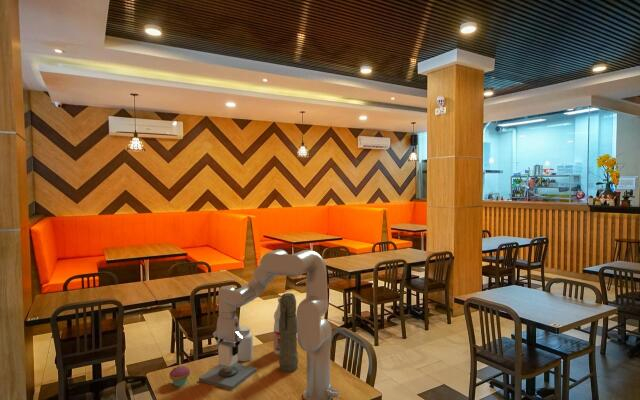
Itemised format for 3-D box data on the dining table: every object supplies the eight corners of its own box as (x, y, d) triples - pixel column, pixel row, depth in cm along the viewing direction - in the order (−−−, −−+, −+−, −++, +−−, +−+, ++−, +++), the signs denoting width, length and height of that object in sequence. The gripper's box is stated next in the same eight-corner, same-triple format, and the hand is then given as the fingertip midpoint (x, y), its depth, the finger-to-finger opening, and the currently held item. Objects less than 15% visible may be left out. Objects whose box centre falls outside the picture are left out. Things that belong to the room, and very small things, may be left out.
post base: (256, 371, 181) (256, 344, 180) (232, 390, 164) (231, 361, 164) (225, 363, 188) (224, 338, 187) (198, 381, 172) (198, 353, 171)
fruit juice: (286, 346, 208) (285, 294, 206) (295, 352, 200) (295, 299, 199) (270, 351, 202) (270, 298, 201) (280, 357, 194) (279, 302, 193)
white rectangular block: (237, 362, 177) (237, 341, 177) (229, 368, 172) (229, 346, 171) (227, 360, 180) (226, 338, 179) (218, 365, 174) (218, 343, 174)
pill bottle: (249, 362, 189) (248, 332, 189) (233, 361, 191) (233, 330, 190) (255, 355, 197) (254, 326, 197) (240, 354, 199) (239, 325, 198)
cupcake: (169, 380, 172) (169, 354, 172) (190, 377, 175) (189, 351, 175) (169, 390, 164) (169, 362, 164) (190, 386, 167) (190, 359, 167)
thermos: (275, 373, 179) (275, 297, 177) (282, 361, 190) (282, 290, 189) (294, 374, 177) (294, 298, 176) (300, 363, 189) (300, 291, 187)
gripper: (248, 314, 175) (248, 353, 175) (217, 309, 182) (218, 346, 183) (238, 319, 168) (238, 360, 169) (206, 314, 175) (207, 352, 176)
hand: (228, 352), depth 176 cm, fingers open, 7 cm apart
